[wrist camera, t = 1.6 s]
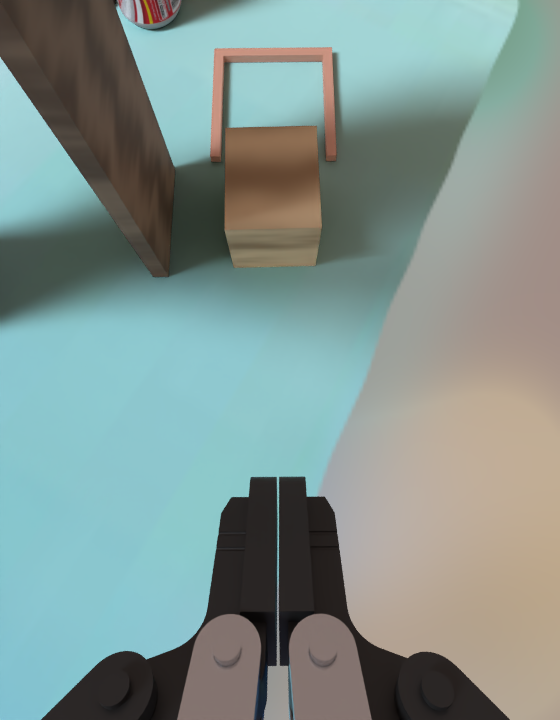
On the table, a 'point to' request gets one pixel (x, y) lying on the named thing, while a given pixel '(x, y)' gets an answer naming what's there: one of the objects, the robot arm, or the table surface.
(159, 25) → the soda can
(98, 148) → the wooden l-shaped stand
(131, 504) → the table surface
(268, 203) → the oak block
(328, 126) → the terracotta frame
